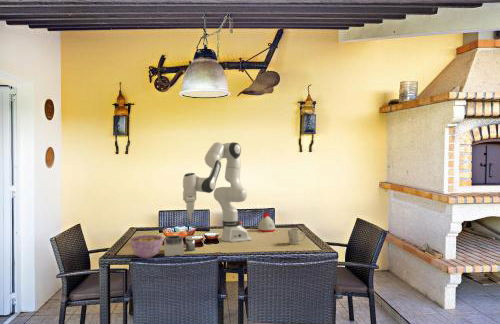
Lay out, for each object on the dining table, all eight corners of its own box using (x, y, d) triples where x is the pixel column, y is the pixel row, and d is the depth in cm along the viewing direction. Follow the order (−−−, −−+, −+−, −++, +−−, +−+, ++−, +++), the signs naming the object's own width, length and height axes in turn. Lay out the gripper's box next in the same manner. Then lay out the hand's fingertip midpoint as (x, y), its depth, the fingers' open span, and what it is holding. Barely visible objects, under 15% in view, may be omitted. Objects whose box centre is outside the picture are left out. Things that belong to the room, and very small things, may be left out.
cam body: (182, 248, 286) (182, 234, 286) (183, 255, 269) (183, 240, 268) (164, 249, 284) (164, 235, 283) (164, 256, 266) (164, 241, 266)
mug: (287, 242, 303) (287, 228, 303) (304, 241, 303) (304, 228, 303) (288, 244, 295) (288, 230, 294) (306, 244, 295) (306, 230, 295)
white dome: (255, 231, 343) (254, 212, 342) (263, 228, 355) (263, 210, 354) (270, 232, 336) (269, 214, 335) (278, 229, 347) (278, 211, 347)
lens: (194, 248, 286) (194, 235, 286) (195, 250, 280) (195, 237, 280) (185, 249, 285) (185, 235, 284) (186, 251, 279) (185, 237, 278)
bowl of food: (153, 251, 280) (153, 233, 280) (168, 256, 265) (168, 238, 265) (124, 256, 267) (124, 238, 266) (139, 262, 252) (139, 243, 251)
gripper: (184, 195, 291) (184, 215, 291) (185, 199, 271) (185, 220, 271) (193, 195, 292) (193, 215, 292) (195, 199, 272) (195, 220, 272)
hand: (189, 218), depth 281 cm, fingers open, 8 cm apart
